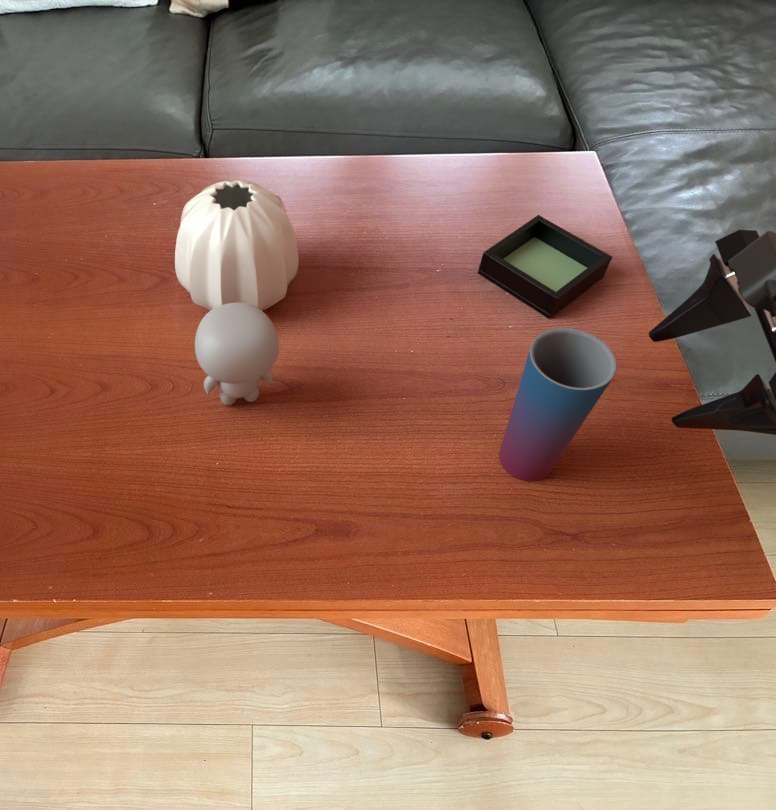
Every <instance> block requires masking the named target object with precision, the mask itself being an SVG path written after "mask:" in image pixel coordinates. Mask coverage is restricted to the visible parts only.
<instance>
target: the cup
mask: <svg viewBox="0 0 776 810" xmlns="http://www.w3.org/2000/svg"><path fill="white" fill-rule="evenodd" d="M617 369H618V365H617V359H616V356H615V354H614V353H613V350H612V349H611V348H610V347H609V346H608V344H607V343H606V342H604V341H603V340H602V339H601V338H599V337H597V336H596V335H594V334H591V333H590V332H587V331H585V330H581V329H578V328H572V327H558V328H551V329H547V330H545V331H543V332H541V333H539V334H538V335H537V336H535V338H534V339H533V341H532V342H531V343H530V347H529V351H528V354H527V358H526V360H525V365H524V367H523V371H522V374H521V377H520V381H519V385H518V388H517V391H516V395H515V398H514V402H513V405H512V409H511V412H510V415H509V418H508V422H507V425H506V429H505V432H504V435H503V439H502V442H501V446H500V449H499V453H498V458H499V462H500V464H501V466H502V468H503V469H504V470H505V471H506V472H507V473H508V474H509V475H511V476H512V477H513V478H516V479H518V480H520V481H525V482H537V481H541V480H543V479H545V478H547V477H548V475H550V474H551V472H552V471H553V469H554V467H555V466H556V464H557V463H558V461H559V460H560V459H561V457H562V456H563V454H564V453H565V451H566V449H567V448H568V447H569V445H570V443H571V442H572V440H573V439H574V437H575V436H576V435H577V433H578V432H579V430H580V429H581V427H582V425H583V424H584V422H585V421H586V420H587V418H588V417H589V415H590V413H591V412H592V410H593V409H594V407H595V406H596V404H597V403H598V402H599V400H600V399H601V397H602V395H603V394H604V393H605V391H606V389H607V388H608V386H609V385H610V383H611V382H612V380H613V379H614V378H615V375H616V374H617V373H616V372H617Z"/></svg>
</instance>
